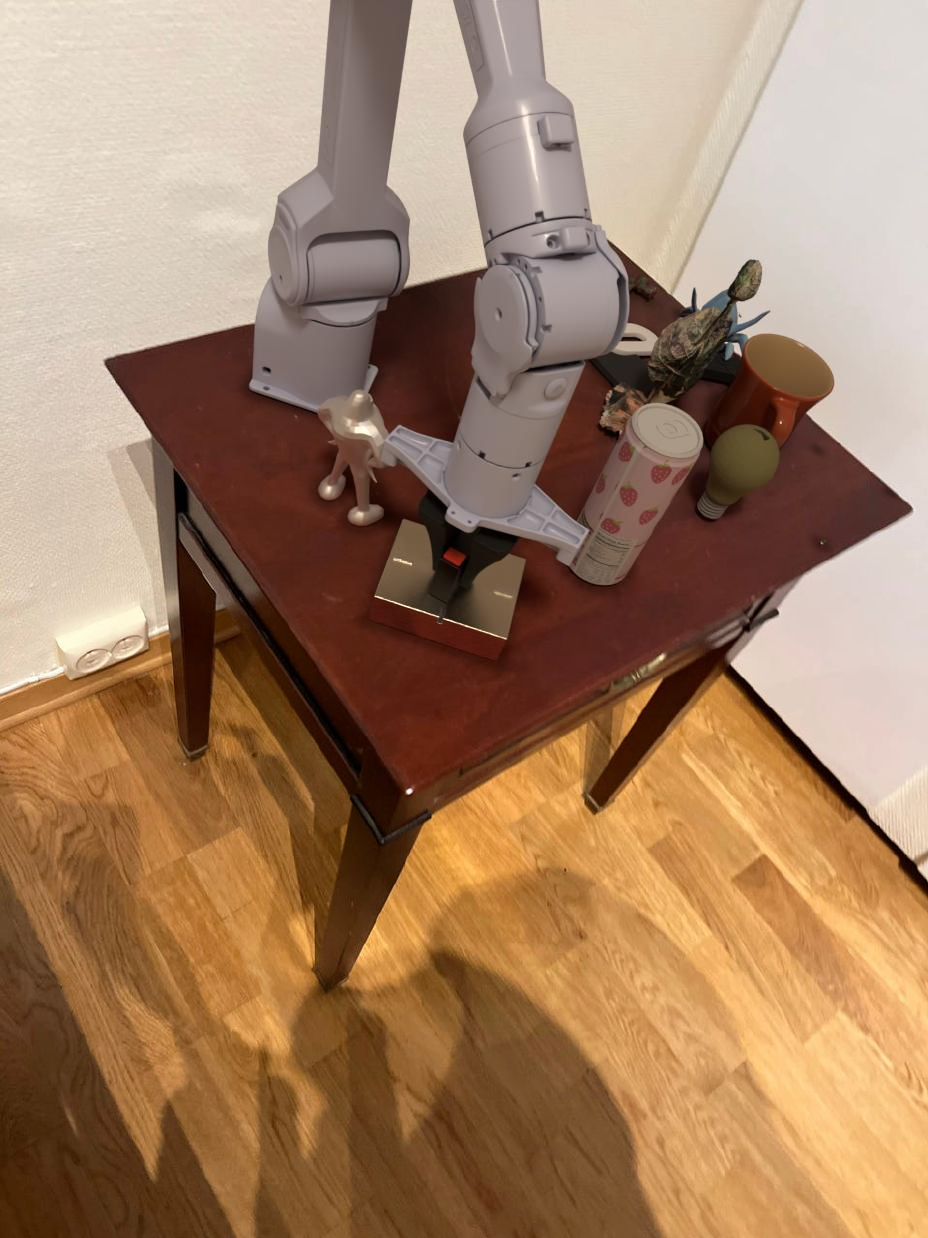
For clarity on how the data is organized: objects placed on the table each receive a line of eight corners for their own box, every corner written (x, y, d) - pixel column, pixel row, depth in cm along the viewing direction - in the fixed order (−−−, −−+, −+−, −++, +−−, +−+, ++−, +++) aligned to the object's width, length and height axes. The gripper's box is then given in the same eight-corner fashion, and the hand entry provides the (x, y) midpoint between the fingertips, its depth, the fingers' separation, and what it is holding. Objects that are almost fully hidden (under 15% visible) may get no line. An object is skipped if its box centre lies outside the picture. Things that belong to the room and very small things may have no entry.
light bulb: (741, 509, 81) (798, 429, 73) (727, 547, 78) (785, 468, 70) (686, 482, 81) (737, 400, 73) (670, 519, 78) (722, 437, 70)
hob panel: (365, 626, 64) (371, 601, 61) (398, 537, 69) (405, 511, 67) (495, 668, 64) (506, 645, 62) (517, 576, 70) (528, 552, 67)
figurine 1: (393, 520, 70) (421, 407, 61) (356, 545, 68) (379, 431, 58) (331, 468, 72) (349, 350, 63) (293, 490, 70) (306, 372, 60)
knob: (459, 550, 66) (473, 513, 63) (478, 560, 66) (492, 524, 63) (428, 592, 63) (440, 556, 60) (447, 603, 63) (460, 567, 60)
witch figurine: (668, 279, 98) (662, 294, 99) (581, 233, 101) (576, 249, 103) (645, 291, 94) (639, 307, 96) (556, 243, 98) (551, 259, 99)
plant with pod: (702, 419, 87) (821, 246, 71) (640, 468, 81) (754, 291, 65) (641, 369, 89) (743, 189, 73) (576, 413, 83) (672, 227, 66)
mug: (695, 406, 88) (743, 321, 80) (775, 432, 89) (831, 351, 81) (690, 486, 81) (743, 402, 73) (778, 514, 82) (840, 434, 74)
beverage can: (638, 562, 74) (720, 432, 62) (605, 599, 71) (684, 469, 59) (584, 523, 75) (654, 388, 63) (549, 558, 72) (616, 423, 60)
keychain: (617, 334, 91) (678, 397, 87) (615, 340, 92) (675, 402, 88) (582, 343, 89) (642, 408, 85) (579, 349, 89) (640, 413, 85)
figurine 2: (715, 328, 100) (763, 275, 94) (737, 404, 93) (790, 352, 88) (648, 299, 96) (694, 242, 90) (667, 377, 90) (717, 321, 84)
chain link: (612, 351, 88) (587, 322, 90) (609, 356, 88) (585, 327, 91) (669, 350, 92) (644, 322, 94) (667, 355, 92) (642, 327, 95)
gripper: (369, 412, 52) (342, 555, 62) (584, 531, 50) (518, 657, 61) (426, 355, 56) (392, 499, 67) (626, 464, 54) (558, 593, 65)
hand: (455, 571), depth 64 cm, fingers closed, pressing on knob
